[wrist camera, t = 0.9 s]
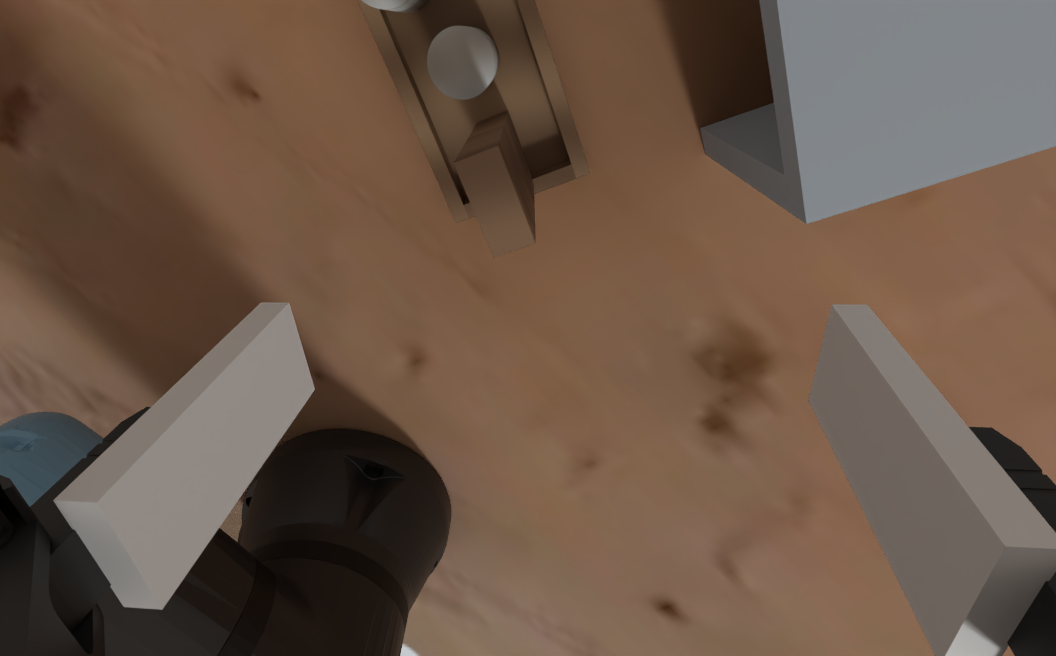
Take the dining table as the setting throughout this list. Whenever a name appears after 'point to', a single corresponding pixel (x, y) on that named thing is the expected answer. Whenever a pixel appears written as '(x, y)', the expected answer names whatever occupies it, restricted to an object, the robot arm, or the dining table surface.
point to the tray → (482, 106)
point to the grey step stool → (891, 98)
